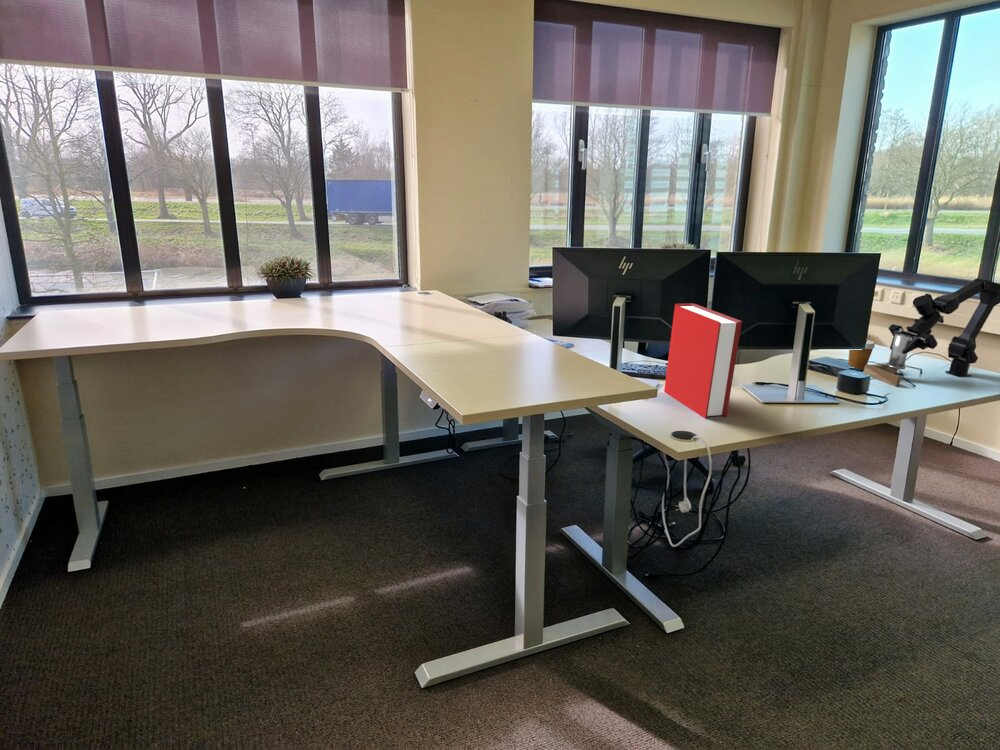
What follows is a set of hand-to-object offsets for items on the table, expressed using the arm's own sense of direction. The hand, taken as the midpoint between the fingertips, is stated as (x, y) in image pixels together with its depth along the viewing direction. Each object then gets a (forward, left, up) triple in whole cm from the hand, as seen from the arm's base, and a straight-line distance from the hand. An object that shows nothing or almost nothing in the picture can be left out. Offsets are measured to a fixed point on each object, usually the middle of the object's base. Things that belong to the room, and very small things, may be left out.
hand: (896, 351), depth 248 cm
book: (+97, +8, -12) cm, 98 cm away
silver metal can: (-1, 0, -7) cm, 7 cm away
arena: (-1, +1, -11) cm, 11 cm away
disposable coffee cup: (+3, -14, -12) cm, 18 cm away
